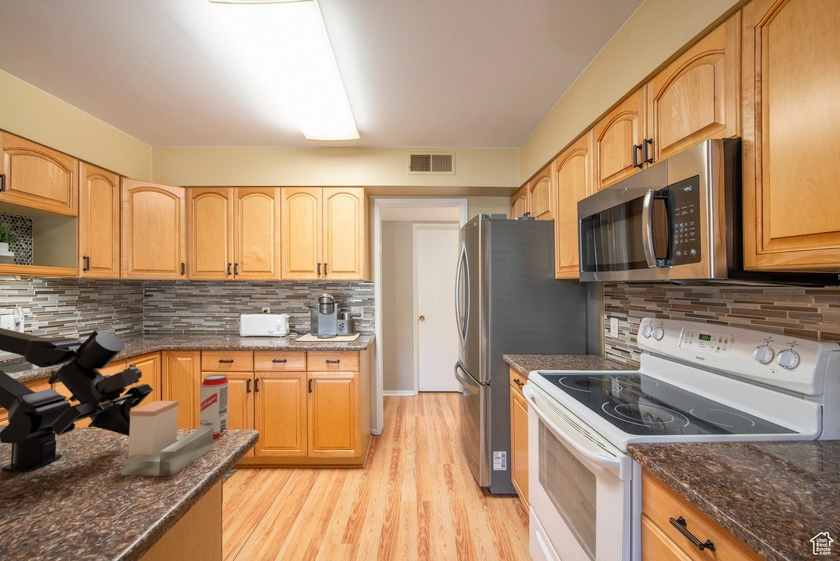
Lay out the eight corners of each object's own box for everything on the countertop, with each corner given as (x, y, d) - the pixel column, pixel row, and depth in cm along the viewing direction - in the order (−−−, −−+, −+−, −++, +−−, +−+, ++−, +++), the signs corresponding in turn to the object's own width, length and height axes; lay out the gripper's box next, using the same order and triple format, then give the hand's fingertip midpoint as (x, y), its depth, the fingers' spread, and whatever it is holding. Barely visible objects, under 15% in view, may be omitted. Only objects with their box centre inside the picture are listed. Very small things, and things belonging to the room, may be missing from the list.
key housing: (85, 488, 66) (86, 456, 66) (158, 447, 84) (159, 422, 84) (166, 490, 66) (167, 458, 66) (222, 448, 84) (223, 423, 84)
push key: (127, 467, 72) (129, 411, 72) (154, 452, 79) (156, 400, 79) (151, 468, 71) (153, 411, 72) (176, 452, 79) (178, 401, 79)
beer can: (214, 444, 86) (216, 380, 87) (193, 441, 87) (195, 378, 88) (232, 434, 92) (234, 374, 93) (212, 432, 94) (214, 373, 94)
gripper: (69, 366, 67) (122, 423, 66) (147, 350, 86) (188, 395, 85) (27, 406, 67) (80, 465, 66) (114, 382, 85) (156, 427, 85)
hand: (133, 434), depth 75 cm, fingers closed
